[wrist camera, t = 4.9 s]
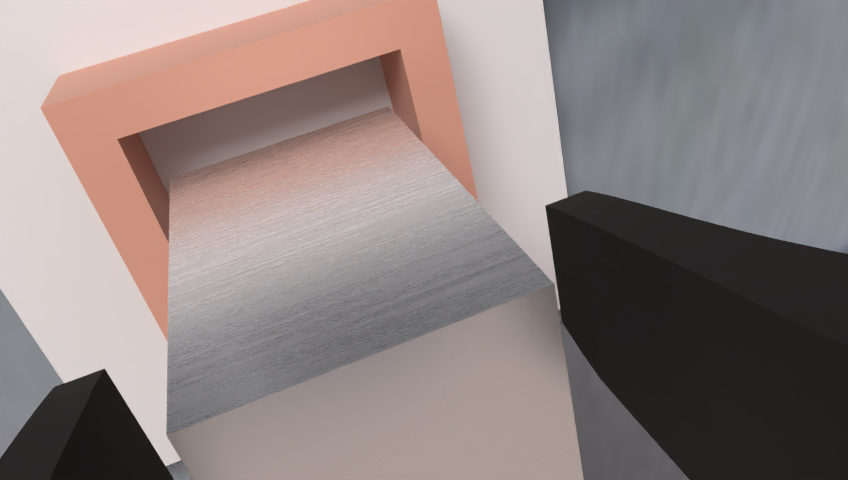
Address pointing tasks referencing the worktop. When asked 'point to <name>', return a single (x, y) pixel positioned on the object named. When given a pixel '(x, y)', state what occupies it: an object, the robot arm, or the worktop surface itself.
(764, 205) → the worktop surface
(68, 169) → the stand base
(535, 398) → the column
